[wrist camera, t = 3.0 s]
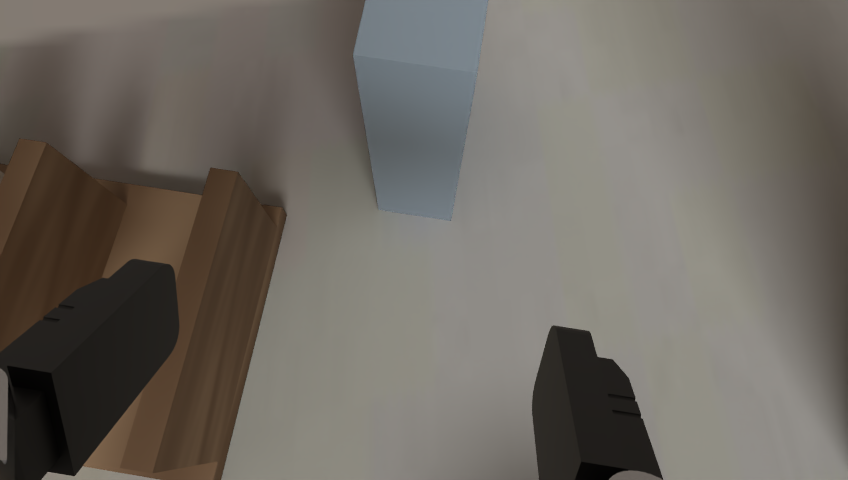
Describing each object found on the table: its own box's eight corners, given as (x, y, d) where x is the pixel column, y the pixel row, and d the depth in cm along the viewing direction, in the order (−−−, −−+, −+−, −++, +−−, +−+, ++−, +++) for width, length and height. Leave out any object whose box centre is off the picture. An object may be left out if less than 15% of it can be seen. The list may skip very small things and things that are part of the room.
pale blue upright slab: (472, 78, 30) (509, -140, 18) (451, 220, 27) (477, 72, 16) (406, 68, 30) (401, -154, 18) (378, 209, 27) (352, 55, 16)
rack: (286, 215, 27) (217, 101, 18) (219, 485, 23) (85, 527, 14) (-37, 164, 28) (-275, 28, 18) (-153, 421, 24) (-528, 419, 14)
